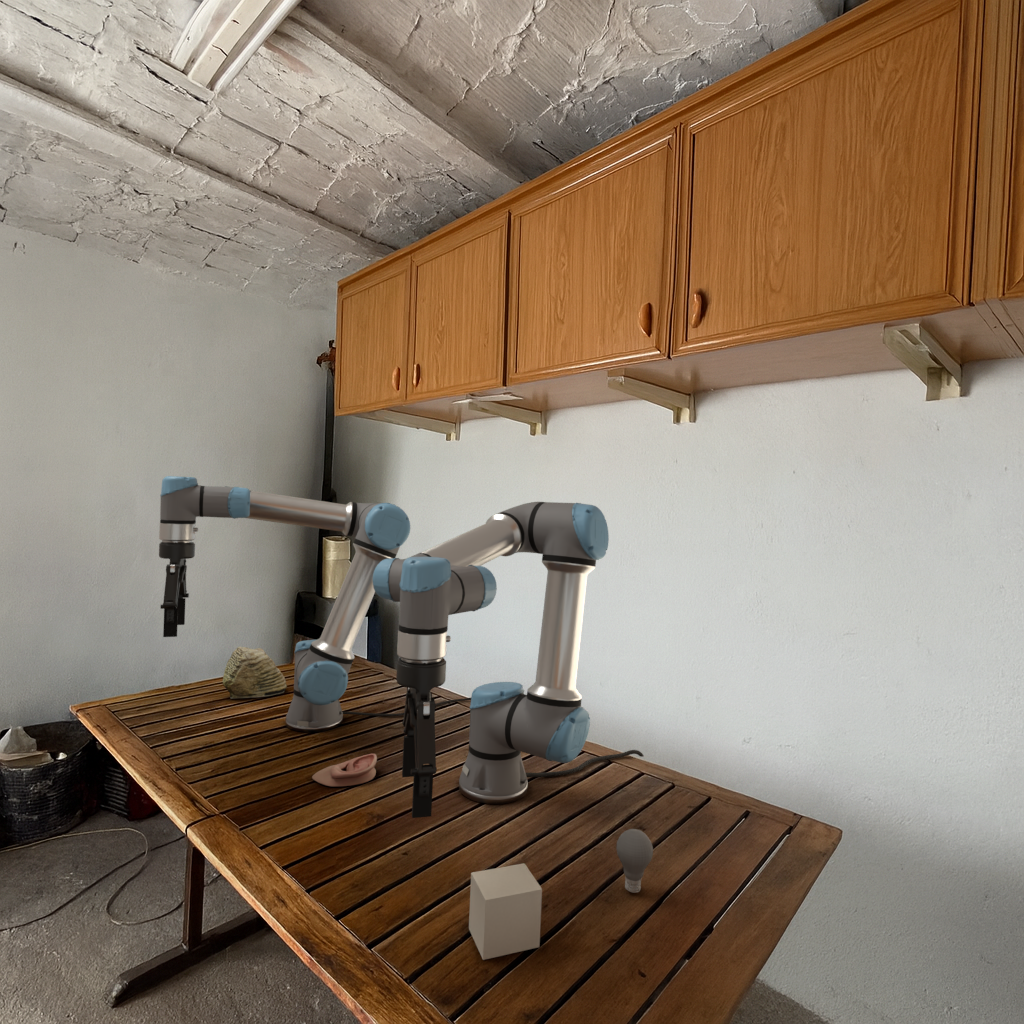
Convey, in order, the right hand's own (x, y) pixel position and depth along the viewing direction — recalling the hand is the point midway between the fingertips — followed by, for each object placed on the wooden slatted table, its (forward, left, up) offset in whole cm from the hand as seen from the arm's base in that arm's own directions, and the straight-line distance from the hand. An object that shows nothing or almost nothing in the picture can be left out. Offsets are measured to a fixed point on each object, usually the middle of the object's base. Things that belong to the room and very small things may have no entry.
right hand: (415, 794), depth 98 cm
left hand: (+37, -76, +12) cm, 86 cm away
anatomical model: (+1, -51, -18) cm, 54 cm away
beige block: (-11, +11, -18) cm, 24 cm away
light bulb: (-36, +8, -18) cm, 41 cm away
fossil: (+17, -118, -18) cm, 121 cm away
